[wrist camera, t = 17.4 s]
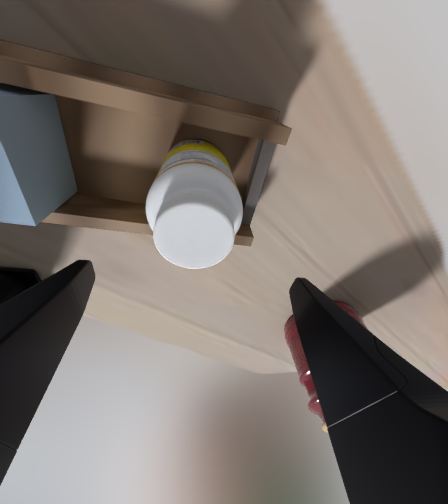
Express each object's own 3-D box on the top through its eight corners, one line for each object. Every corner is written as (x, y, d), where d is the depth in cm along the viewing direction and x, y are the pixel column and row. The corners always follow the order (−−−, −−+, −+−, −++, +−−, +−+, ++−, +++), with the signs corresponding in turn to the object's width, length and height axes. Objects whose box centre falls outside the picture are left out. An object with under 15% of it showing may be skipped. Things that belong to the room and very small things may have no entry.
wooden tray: (276, 109, 16) (299, 116, 12) (241, 226, 23) (249, 255, 19) (-209, -14, 11) (-433, -69, 7) (-72, 185, 18) (-149, 213, 14)
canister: (319, 290, 31) (411, 448, 18) (370, 310, 36) (473, 446, 22) (268, 333, 38) (305, 471, 24) (316, 345, 43) (371, 466, 29)
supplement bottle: (205, 212, 20) (207, 292, 12) (153, 179, 18) (114, 252, 10) (242, 165, 18) (275, 228, 10) (187, 119, 15) (171, 153, 7)
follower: (54, 94, 14) (-18, 97, 9) (77, 190, 18) (35, 226, 13) (1, 82, 13) (-104, 79, 9) (38, 185, 17) (-20, 219, 13)
